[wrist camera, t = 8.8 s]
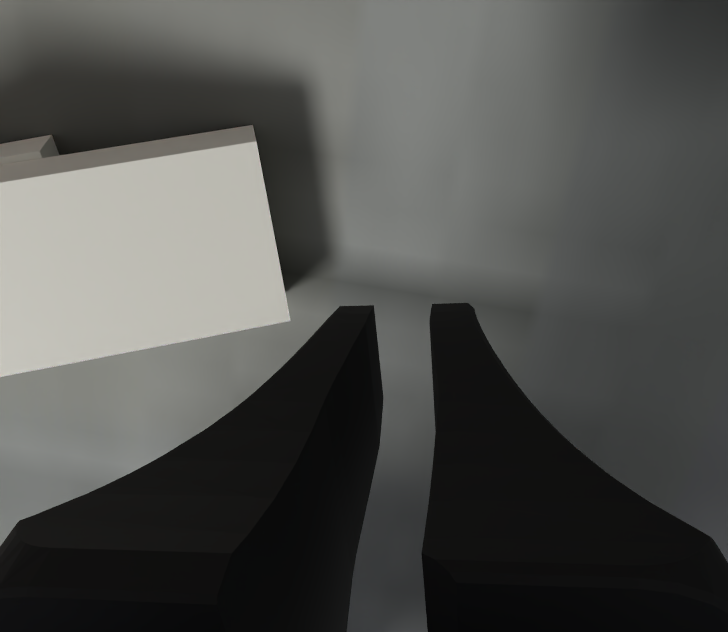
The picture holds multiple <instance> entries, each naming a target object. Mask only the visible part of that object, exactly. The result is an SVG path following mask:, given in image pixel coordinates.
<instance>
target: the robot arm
mask: <svg viewBox="0 0 728 632" xmlns="http://www.w3.org/2000/svg"><path fill="white" fill-rule="evenodd" d="M430 338H431V356H432V374H433V392H434V410H435V427H436V435H435V447H434V458H433V469H432V478H431V488H430V497H429V505H428V513H427V520H426V527H425V535H424V542H423V548H422V563H423V576H424V589H425V601H426V614H427V627H428V632H728V562H727V561H726V559H725V557H724V556H723V554H722V553H721V551H720V549H719V548H718V546H717V545H716V543H715V541H714V540H713V539H712V538H711V537H710V536H708V535H706V534H704V533H703V532H701V531H699V530H697V529H696V528H694V527H692V526H690V525H689V524H687V523H685V522H683V521H682V520H680V519H678V518H676V517H675V516H673V515H671V514H669V513H668V512H666V511H664V510H662V509H661V508H659V507H657V506H655V505H654V504H652V503H650V502H649V501H647V500H645V499H644V498H642V497H641V496H639V495H638V494H636V493H635V492H633V491H632V490H631V489H629V488H628V487H626V486H625V485H623V484H622V483H620V482H619V481H617V480H616V479H614V478H613V477H612V476H610V475H609V474H608V473H606V472H605V471H604V470H603V469H601V468H600V467H599V466H598V465H596V464H595V463H594V462H593V461H591V460H590V459H589V458H588V457H586V456H585V455H584V454H583V453H581V452H580V451H579V450H578V449H576V448H575V447H574V446H573V445H572V444H571V443H570V442H569V441H568V440H567V439H566V438H565V437H564V436H563V435H562V434H560V433H559V432H558V431H557V430H556V429H555V428H554V427H553V426H552V424H551V423H550V422H549V421H548V420H547V419H546V418H545V417H544V416H543V415H542V414H541V413H540V412H539V411H538V410H537V408H536V407H535V406H534V405H533V404H532V403H531V401H530V400H529V399H528V398H527V397H526V395H525V394H524V393H523V392H522V390H521V389H520V388H519V387H518V385H517V384H516V383H515V381H514V380H513V379H512V377H511V376H510V375H509V373H508V372H507V370H506V369H505V367H504V366H503V364H502V363H501V361H500V360H499V358H498V357H497V355H496V354H495V352H494V350H493V349H492V347H491V345H490V344H489V342H488V340H487V338H486V336H485V334H484V333H483V331H482V329H481V326H480V324H479V322H478V320H477V317H476V314H475V310H474V308H473V307H472V306H471V305H469V304H468V303H450V304H432V308H431V315H430ZM382 409H383V390H382V380H381V371H380V361H379V352H378V342H377V332H376V323H375V313H374V305H373V306H340V307H339V308H338V309H337V310H336V311H335V312H334V313H333V314H332V315H331V316H330V317H329V318H328V319H327V320H326V321H325V322H324V324H323V325H322V326H321V327H320V328H319V329H318V330H317V331H316V332H315V333H314V335H313V336H312V337H311V338H310V339H309V340H308V341H307V342H306V343H305V344H304V345H303V346H302V347H301V348H300V349H299V350H298V351H297V352H296V354H295V355H294V356H293V357H292V358H291V359H290V360H289V361H288V362H287V363H286V364H285V365H284V366H283V367H282V368H281V369H280V370H278V371H277V372H276V373H275V374H274V375H273V376H272V377H271V378H270V379H269V380H267V381H266V382H265V383H264V384H263V385H262V386H261V387H260V388H259V389H258V390H257V391H255V392H254V393H253V394H252V395H251V396H249V397H248V398H247V399H246V400H245V401H243V402H242V403H241V404H240V405H238V406H237V407H236V408H234V409H233V410H232V411H230V412H229V413H228V414H226V415H225V416H224V417H222V418H221V419H219V420H218V421H217V422H215V423H214V424H213V425H211V426H210V427H208V428H207V429H205V430H204V431H202V432H200V433H199V434H197V435H196V436H194V437H192V438H191V439H189V440H187V441H186V442H184V443H183V444H181V445H179V446H178V447H176V448H174V449H173V450H171V451H170V452H168V453H166V454H165V455H163V456H161V457H160V458H158V459H156V460H154V461H152V462H151V463H149V464H147V465H145V466H143V467H141V468H139V469H137V470H135V471H134V472H132V473H130V474H128V475H126V476H124V477H122V478H119V479H117V480H115V481H113V482H111V483H109V484H107V485H105V486H103V487H101V488H99V489H96V490H94V491H92V492H90V493H88V494H85V495H83V496H80V497H78V498H75V499H73V500H70V501H68V502H66V503H63V504H61V505H58V506H56V507H53V508H51V509H48V510H46V511H44V512H41V513H39V514H36V515H34V516H31V517H28V518H26V519H23V520H20V521H19V522H18V523H17V524H16V526H15V527H14V528H13V530H12V531H11V532H10V534H9V535H8V537H7V538H6V539H5V541H4V542H3V544H2V545H1V546H0V632H346V631H347V621H348V612H349V603H350V594H351V585H352V576H353V570H354V564H355V558H356V552H357V548H358V543H359V538H360V534H361V529H362V525H363V520H364V516H365V511H366V506H367V502H368V497H369V493H370V488H371V483H372V479H373V474H374V469H375V465H376V460H377V455H378V450H379V445H380V434H381V422H382Z"/></svg>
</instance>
